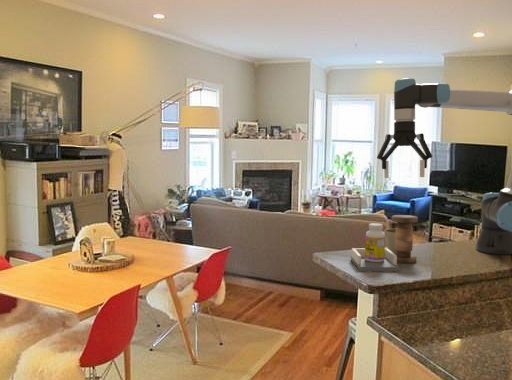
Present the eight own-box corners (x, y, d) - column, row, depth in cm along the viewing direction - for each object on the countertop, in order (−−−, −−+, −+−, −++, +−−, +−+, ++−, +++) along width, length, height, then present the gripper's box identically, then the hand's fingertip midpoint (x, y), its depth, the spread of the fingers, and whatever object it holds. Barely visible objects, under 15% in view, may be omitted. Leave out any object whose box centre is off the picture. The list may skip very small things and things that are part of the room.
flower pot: (381, 253, 186) (381, 231, 186) (386, 249, 195) (387, 227, 194) (406, 256, 182) (406, 233, 181) (410, 251, 190) (411, 229, 190)
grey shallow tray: (386, 260, 176) (387, 248, 175) (399, 271, 160) (399, 258, 159) (351, 260, 176) (351, 247, 175) (360, 271, 160) (360, 258, 159)
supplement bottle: (360, 259, 170) (362, 223, 169) (376, 257, 173) (377, 222, 172) (372, 263, 164) (373, 226, 163) (388, 261, 167) (389, 225, 166)
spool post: (411, 257, 180) (413, 215, 179) (419, 263, 171) (421, 218, 170) (387, 257, 180) (388, 214, 179) (394, 263, 171) (395, 218, 170)
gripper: (433, 120, 185) (433, 176, 187) (368, 122, 184) (369, 177, 186) (441, 119, 177) (441, 177, 179) (374, 121, 177) (374, 179, 178)
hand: (404, 177), depth 183 cm, fingers open, 13 cm apart
